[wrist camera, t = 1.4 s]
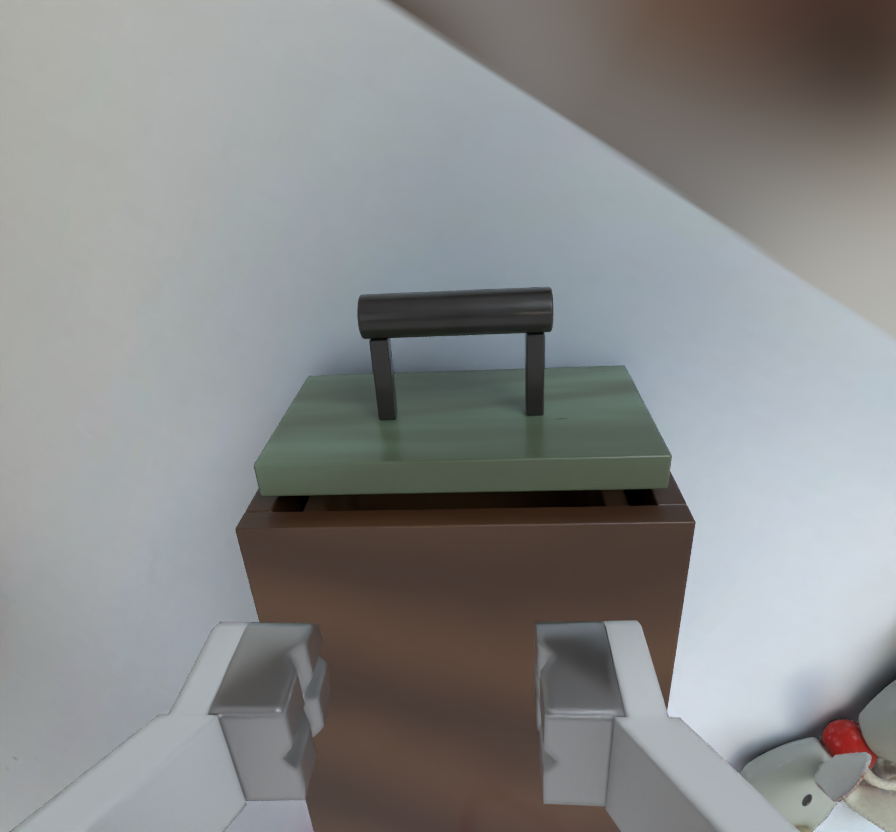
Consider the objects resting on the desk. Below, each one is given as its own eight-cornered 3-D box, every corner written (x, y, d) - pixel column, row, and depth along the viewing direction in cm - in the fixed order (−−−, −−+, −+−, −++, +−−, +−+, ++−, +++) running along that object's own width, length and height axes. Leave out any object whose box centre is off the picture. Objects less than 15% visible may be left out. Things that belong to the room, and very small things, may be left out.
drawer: (290, 269, 23) (221, 331, 17) (633, 253, 23) (690, 313, 16) (353, 638, 32) (322, 767, 26) (604, 637, 31) (633, 771, 25)
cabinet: (306, 403, 27) (234, 529, 19) (632, 393, 26) (696, 521, 18) (352, 663, 34) (313, 832, 26) (609, 663, 33) (648, 838, 25)
